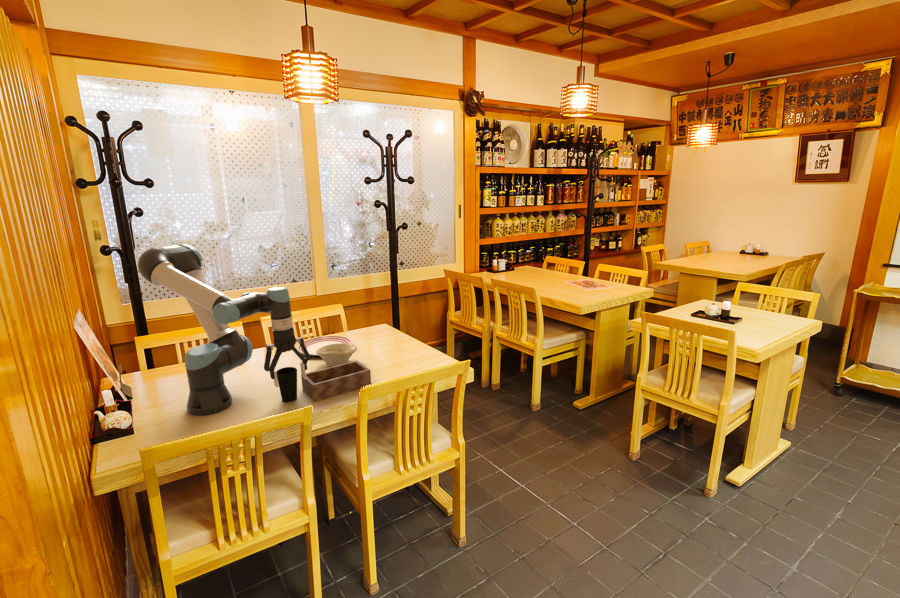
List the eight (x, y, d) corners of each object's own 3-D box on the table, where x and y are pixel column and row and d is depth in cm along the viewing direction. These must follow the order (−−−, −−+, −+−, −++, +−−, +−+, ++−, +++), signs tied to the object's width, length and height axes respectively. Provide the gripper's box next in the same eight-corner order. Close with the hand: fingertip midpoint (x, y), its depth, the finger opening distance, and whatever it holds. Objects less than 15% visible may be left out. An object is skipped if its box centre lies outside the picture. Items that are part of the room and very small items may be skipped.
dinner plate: (345, 359, 217) (345, 353, 216) (289, 359, 218) (288, 353, 217) (357, 341, 244) (357, 335, 243) (307, 341, 244) (307, 335, 244)
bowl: (324, 378, 206) (308, 354, 210) (356, 364, 218) (341, 341, 223) (332, 361, 197) (315, 337, 201) (365, 348, 209) (348, 325, 214)
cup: (293, 404, 171) (290, 375, 168) (275, 402, 173) (272, 373, 170) (303, 395, 179) (300, 367, 176) (286, 394, 180) (283, 366, 177)
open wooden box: (314, 402, 173) (312, 385, 171) (302, 390, 183) (301, 374, 182) (371, 385, 187) (370, 369, 185) (357, 375, 197) (356, 360, 196)
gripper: (254, 337, 160) (263, 393, 165) (315, 323, 173) (322, 376, 178) (248, 332, 165) (257, 387, 171) (308, 319, 178) (315, 371, 184)
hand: (290, 381), depth 174 cm, fingers open, 10 cm apart
